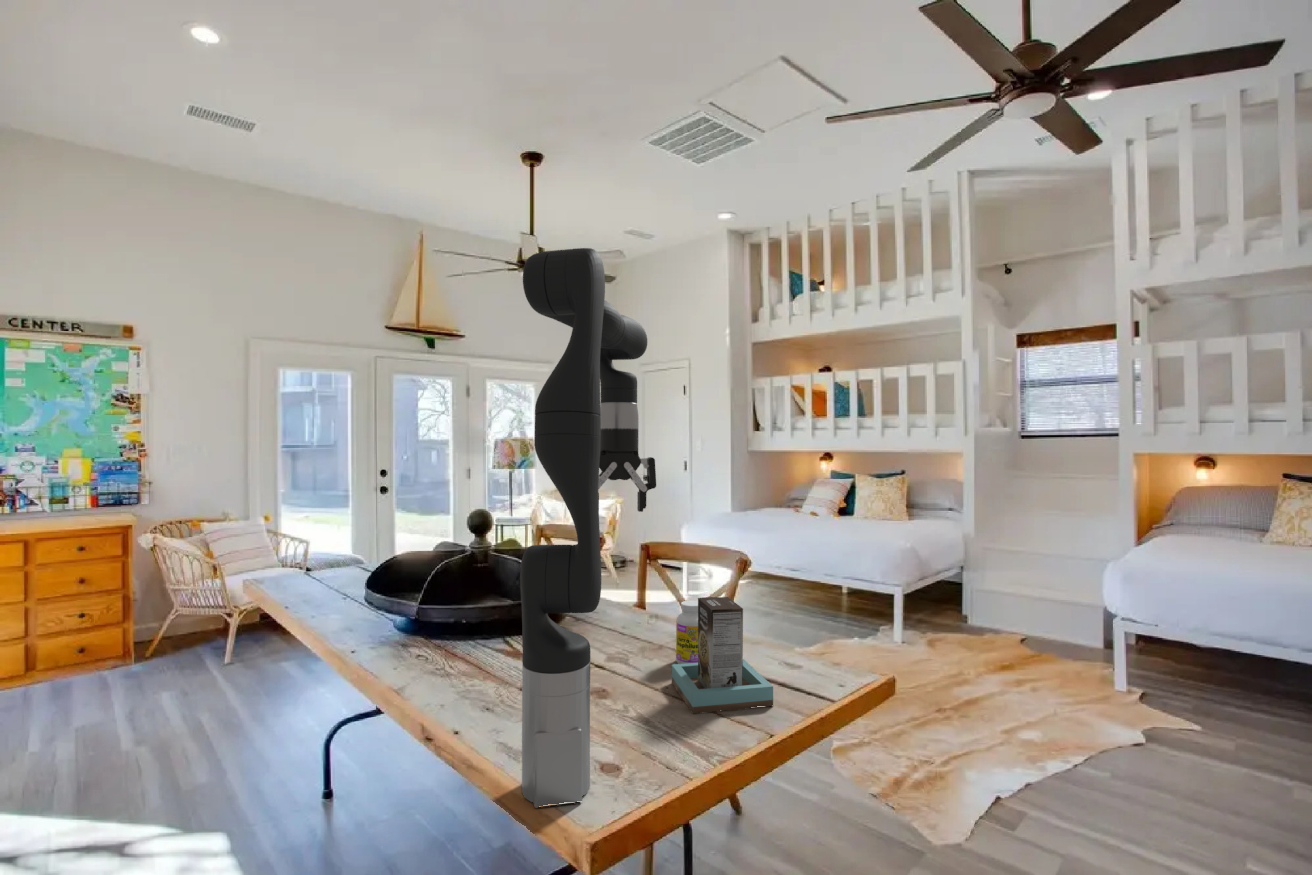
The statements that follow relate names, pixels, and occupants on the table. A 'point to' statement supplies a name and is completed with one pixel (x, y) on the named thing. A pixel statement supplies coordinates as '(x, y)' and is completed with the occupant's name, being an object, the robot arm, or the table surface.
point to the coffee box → (720, 642)
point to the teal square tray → (721, 690)
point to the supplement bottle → (687, 633)
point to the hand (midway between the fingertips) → (618, 511)
